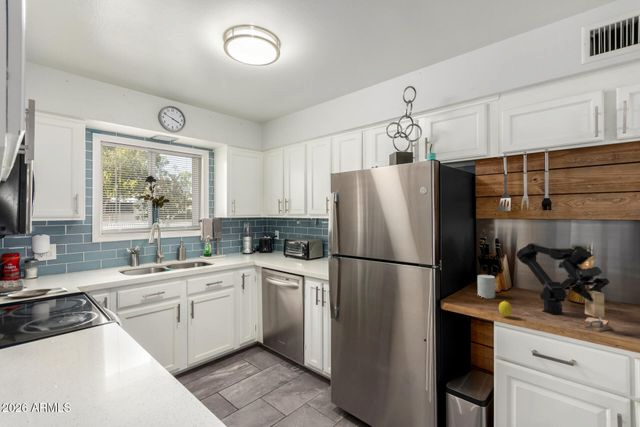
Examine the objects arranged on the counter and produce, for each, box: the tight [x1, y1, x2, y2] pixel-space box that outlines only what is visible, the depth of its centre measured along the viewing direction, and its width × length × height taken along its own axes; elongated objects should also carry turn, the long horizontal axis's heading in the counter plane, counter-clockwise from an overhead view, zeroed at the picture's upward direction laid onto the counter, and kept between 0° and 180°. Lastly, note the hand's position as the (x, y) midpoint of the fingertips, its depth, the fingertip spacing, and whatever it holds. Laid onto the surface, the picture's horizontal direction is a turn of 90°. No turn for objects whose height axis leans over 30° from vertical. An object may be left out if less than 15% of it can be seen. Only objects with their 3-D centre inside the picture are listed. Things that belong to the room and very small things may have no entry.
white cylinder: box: [477, 274, 496, 299], centre depth 184 cm, size 10×10×12 cm
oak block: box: [584, 290, 605, 318], centre depth 130 cm, size 4×4×10 cm
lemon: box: [498, 300, 513, 318], centre depth 147 cm, size 6×6×8 cm
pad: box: [584, 316, 609, 325], centre depth 140 cm, size 7×7×1 cm
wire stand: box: [584, 317, 612, 332], centre depth 132 cm, size 5×10×4 cm, turn 112°
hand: (597, 300), depth 129 cm, fingers closed on oak block, 4 cm apart
